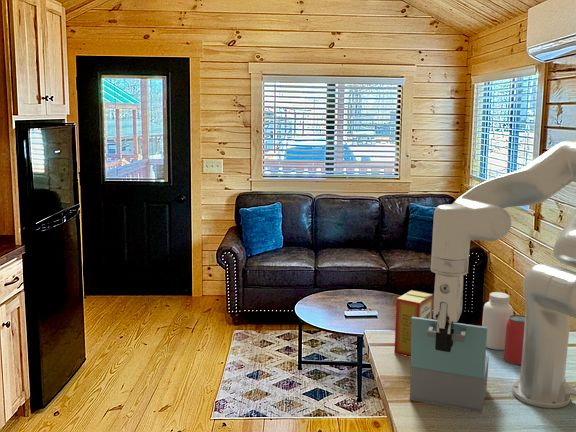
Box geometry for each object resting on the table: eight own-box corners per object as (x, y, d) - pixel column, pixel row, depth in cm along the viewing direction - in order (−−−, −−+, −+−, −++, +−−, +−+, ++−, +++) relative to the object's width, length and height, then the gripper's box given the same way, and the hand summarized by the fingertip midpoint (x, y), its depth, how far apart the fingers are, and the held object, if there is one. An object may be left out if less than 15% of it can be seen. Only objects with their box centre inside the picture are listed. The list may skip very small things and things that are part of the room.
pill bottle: (512, 351, 168) (516, 300, 165) (482, 349, 170) (485, 298, 167) (508, 341, 176) (512, 291, 173) (479, 338, 177) (482, 289, 174)
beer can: (504, 364, 160) (508, 321, 158) (502, 354, 166) (505, 312, 164) (531, 367, 158) (535, 323, 156) (528, 357, 165) (531, 315, 162)
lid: (487, 327, 129) (485, 338, 125) (484, 377, 133) (482, 389, 129) (412, 316, 135) (407, 327, 131) (411, 364, 139) (406, 376, 135)
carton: (486, 390, 145) (488, 356, 144) (481, 413, 134) (484, 377, 133) (419, 378, 151) (421, 345, 150) (409, 399, 140) (411, 364, 139)
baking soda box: (416, 358, 163) (419, 301, 160) (394, 352, 167) (396, 297, 164) (430, 347, 171) (433, 293, 168) (409, 342, 174) (411, 288, 171)
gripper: (463, 276, 117) (457, 365, 120) (472, 257, 131) (466, 338, 135) (424, 271, 120) (419, 359, 123) (437, 254, 134) (432, 333, 138)
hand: (443, 347), depth 129 cm, fingers closed
